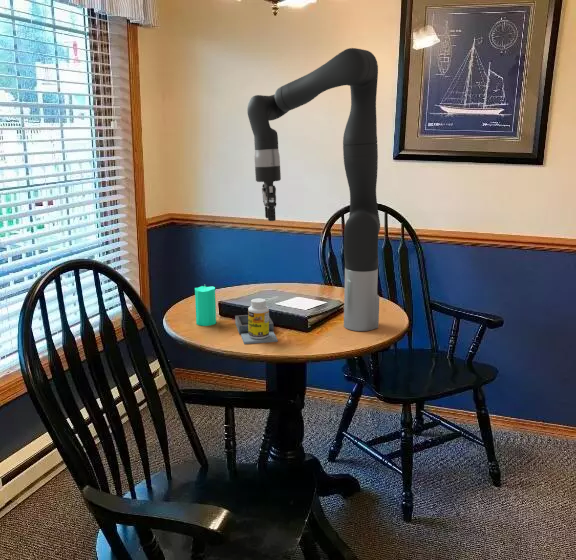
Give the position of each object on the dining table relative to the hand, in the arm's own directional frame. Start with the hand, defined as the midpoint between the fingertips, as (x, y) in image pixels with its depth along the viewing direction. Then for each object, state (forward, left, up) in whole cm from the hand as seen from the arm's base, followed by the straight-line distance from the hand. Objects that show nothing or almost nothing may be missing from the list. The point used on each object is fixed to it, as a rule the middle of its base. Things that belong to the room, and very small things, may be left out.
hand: (270, 219), depth 180 cm
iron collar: (+8, +17, -29) cm, 34 cm away
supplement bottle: (+8, +26, -28) cm, 39 cm away
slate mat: (+8, +26, -29) cm, 39 cm away
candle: (+21, +9, -29) cm, 37 cm away
